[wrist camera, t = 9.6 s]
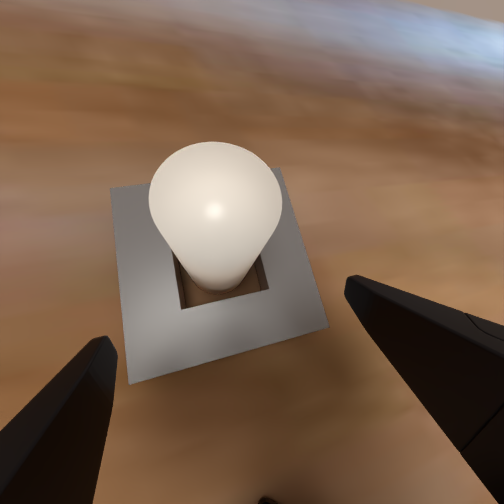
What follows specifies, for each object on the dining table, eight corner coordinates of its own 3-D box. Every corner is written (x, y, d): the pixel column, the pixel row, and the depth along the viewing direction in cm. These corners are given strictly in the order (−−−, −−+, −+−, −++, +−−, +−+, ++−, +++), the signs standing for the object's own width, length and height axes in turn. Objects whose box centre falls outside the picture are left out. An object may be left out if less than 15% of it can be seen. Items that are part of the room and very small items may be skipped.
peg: (256, 277, 20) (305, 224, 9) (204, 305, 19) (184, 285, 7) (230, 230, 21) (244, 127, 10) (179, 253, 20) (126, 166, 8)
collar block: (313, 325, 20) (329, 327, 17) (143, 373, 17) (128, 384, 14) (272, 186, 23) (279, 167, 20) (125, 206, 20) (109, 188, 17)
